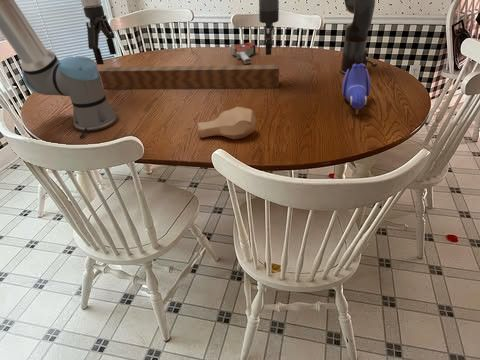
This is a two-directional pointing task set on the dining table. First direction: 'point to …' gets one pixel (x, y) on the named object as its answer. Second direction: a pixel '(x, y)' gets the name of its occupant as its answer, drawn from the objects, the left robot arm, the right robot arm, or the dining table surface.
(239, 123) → the squash
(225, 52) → the dining table surface
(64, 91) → the left robot arm
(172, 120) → the dining table surface
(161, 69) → the beam
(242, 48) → the tape dispenser
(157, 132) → the dining table surface
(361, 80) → the toy
